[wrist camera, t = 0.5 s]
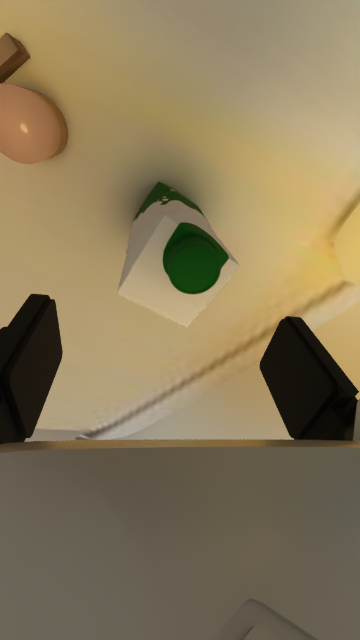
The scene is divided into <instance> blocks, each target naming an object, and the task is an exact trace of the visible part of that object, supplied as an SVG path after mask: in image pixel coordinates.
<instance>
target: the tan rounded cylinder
mask: <svg viewBox="0 0 360 640" xmlns="http://www.w3.org/2000/svg"><path fill="white" fill-rule="evenodd" d="M67 138H68V131H67V126H66V122H65V119H64V117H63V115H62V113H61V112H60V110H59V109H58V107H57V106H56V105H55V104H54V103H53V102H52V101H51V100H50V99H49V98H47V97H46V96H44V95H42V94H40V93H37V92H34V91H31V90H28V89H25V88H22V87H19V86H16V85H12V84H7V83H1V84H0V151H1V152H2V153H3V154H4V155H5V156H7V157H8V158H10V159H12V160H14V161H16V162H19V163H24V164H32V163H37V162H40V161H43V160H47V159H50V158H54V157H56V156H58V155H59V154H60V153H62V151H63V150H64V148H65V146H66V144H67Z"/></svg>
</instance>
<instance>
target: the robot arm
mask: <svg viewBox="0 0 360 640" xmlns="http://www.w3.org/2000/svg"><path fill="white" fill-rule="evenodd" d="M61 359H62V345H61V338H60V331H59V324H58V317H57V310H56V303H55V300H54V299H50V297H49V296H48V295H41V294H31V295H30V296H29V297H28V299H27V300H26V301H25V303H24V304H23V306H22V307H21V308H20V310H19V311H18V313H17V314H16V315H15V317H14V318H13V319H12V321H11V322H10V324H9V325H8V326H7V327H3V328H1V329H0V640H360V399H359V400H357V399H356V397H355V396H356V394H357V393H358V392H359V391H358V390H357V389H356V387H355V386H354V385H353V383H352V382H351V381H350V380H349V379H348V377H347V376H346V375H345V373H344V372H343V371H342V369H341V368H340V367H339V365H337V363H336V362H335V361H334V359H333V358H332V357H331V355H330V354H329V353H328V351H327V350H326V349H325V348H324V346H323V345H322V344H321V343H320V341H319V340H318V339H317V338H316V336H315V335H314V334H313V332H312V331H311V330H310V328H309V327H308V326H307V325H306V323H305V322H304V321H303V319H302V318H300V317H290V316H287V317H285V318H284V319H282V320H281V321H280V323H279V325H278V327H277V329H276V331H275V333H274V335H273V337H272V339H271V341H270V343H269V345H268V347H267V349H266V351H265V353H264V355H263V357H262V359H261V361H260V370H261V372H262V374H263V377H264V379H265V381H266V383H267V386H268V388H269V390H270V392H271V395H272V397H273V399H274V401H275V404H276V406H277V408H278V410H279V413H280V415H281V417H282V419H283V422H284V424H285V426H286V428H287V430H288V433H289V435H290V436H291V437H292V438H294V440H71V441H69V440H67V441H33V442H24V441H25V439H26V438H30V437H31V436H32V434H33V432H34V429H35V427H36V424H37V421H38V419H39V416H40V414H41V411H42V409H43V406H44V403H45V401H46V398H47V396H48V393H49V390H50V388H51V385H52V383H53V380H54V377H55V375H56V372H57V370H58V367H59V364H60V362H61Z"/></svg>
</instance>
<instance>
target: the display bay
mask: <svg viewBox="0 0 360 640" xmlns="http://www.w3.org/2000/svg"><path fill="white" fill-rule="evenodd" d="M29 58H30V56H29V54H28V53H27V51H26V50H25V48H24V47H23V45H22V44H21V42H20V41H18V40H17V39H15V38H14V37H12V36H11V35H9V34H8V33H5V34H4V35H3V36H2V37H1V38H0V84H1V83H3V82H4V81H5V80H6V79H7V78H8V77H9V76H10V75H11V74H13V73H14V72H15V71H16V70H17V69H18V68H19V67H20V66H21V65H22V64H23V63H24V62H26V61H27V60H28V59H29Z"/></svg>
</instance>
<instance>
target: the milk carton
mask: <svg viewBox="0 0 360 640" xmlns="http://www.w3.org/2000/svg"><path fill="white" fill-rule="evenodd" d="M238 267H239V264H238V262H237V261H236V260H235V258H234V257H233V256H232V255H231V253H230V252H229V251H228V250H227V248H226V247H225V246H224V244H223V243H222V242H221V241H220V239H219V238H218V237H217V235H216V234H215V233H214V231H213V229H212V228H211V226H210V225H209V223H208V221H207V220H206V218H205V216H204V215H203V213H202V212H201V210H200V209H199V207H197V206H196V205H195V204H194V203H192V202H191V201H190V200H188V199H187V198H185V197H184V196H183V195H181V194H180V193H178V192H177V191H175V190H173V189H171V188H170V187H168V186H166V185H164V184H163V183H161V182H158V184H157V185H156V186H155V188H154V189H153V190H152V191H151V193H150V194H149V196H148V197H147V198H146V200H145V202H144V203H143V205H142V207H141V208H140V210H139V212H138V213H137V215H136V217H135V219H134V221H133V223H132V227H131V232H130V237H129V242H128V248H127V250H126V259H125V263H124V267H123V271H122V275H121V279H120V284H119V288H118V291H117V294H119V295H121V296H123V297H125V298H127V299H129V300H131V301H133V302H135V303H137V304H139V305H141V306H143V307H145V308H147V309H149V310H151V311H153V312H156V313H158V314H160V315H162V316H164V317H166V318H168V319H170V320H172V321H174V322H176V323H178V324H180V325H182V326H184V327H186V328H187V327H188V326H189V325H190V323H191V322H192V321H193V320H194V319H195V317H196V316H197V315H198V314H199V313H200V312H201V310H204V309H205V308H206V307H207V306H208V304H209V303H210V302H211V300H212V299H213V298H214V296H215V295H216V294H217V293H218V292H219V290H220V289H221V288H222V287H223V286H224V284H225V283H226V282H227V281H228V280H229V278H230V277H231V276H232V275H233V274H234V272H235V271H236V270H237V269H238Z"/></svg>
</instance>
